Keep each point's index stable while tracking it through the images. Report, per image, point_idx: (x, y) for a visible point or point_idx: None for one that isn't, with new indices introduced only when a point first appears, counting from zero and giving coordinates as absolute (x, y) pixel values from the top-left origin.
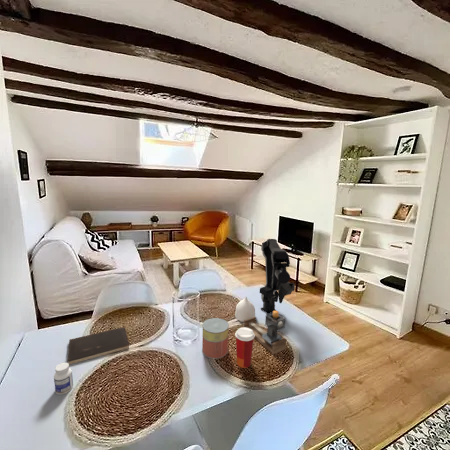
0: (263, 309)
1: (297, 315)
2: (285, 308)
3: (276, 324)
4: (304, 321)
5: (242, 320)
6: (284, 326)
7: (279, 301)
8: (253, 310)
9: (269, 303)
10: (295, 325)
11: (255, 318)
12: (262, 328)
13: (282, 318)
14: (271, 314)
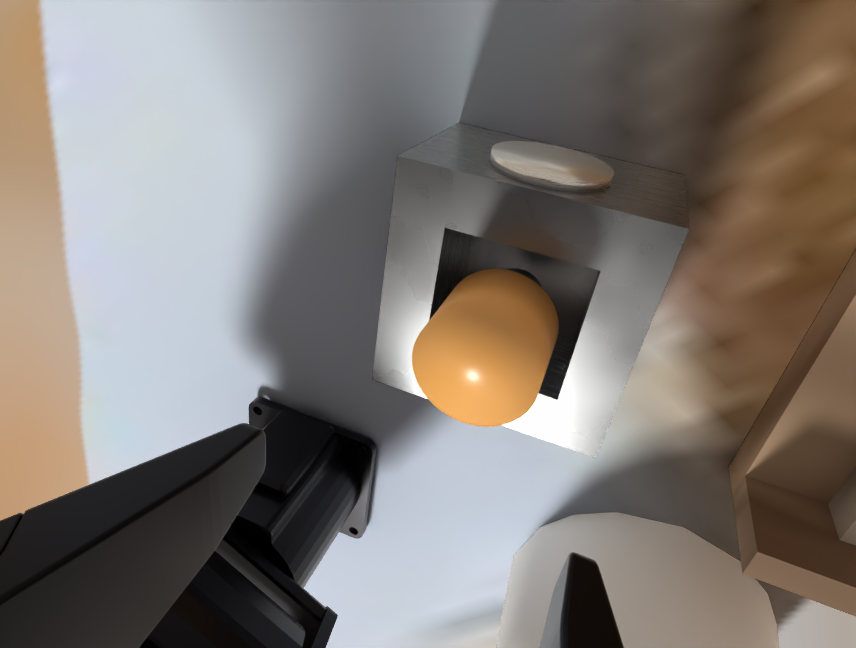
0: (356, 510)
1: (107, 170)
2: (137, 346)
3: (642, 198)
4: (113, 12)
5: (770, 615)
6: (457, 127)
7: (242, 498)
8: None
9: (280, 533)
10: (285, 39)
11: (774, 545)
12: (833, 341)
13: (440, 197)
14: None
